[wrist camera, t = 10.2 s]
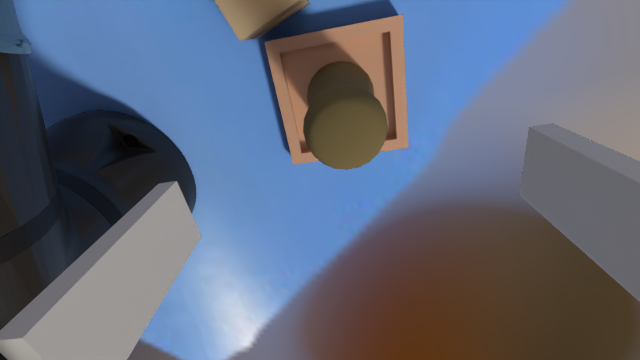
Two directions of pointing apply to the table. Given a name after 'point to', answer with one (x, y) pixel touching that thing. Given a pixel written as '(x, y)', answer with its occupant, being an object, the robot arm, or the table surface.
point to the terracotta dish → (349, 46)
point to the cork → (343, 117)
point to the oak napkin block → (257, 15)
